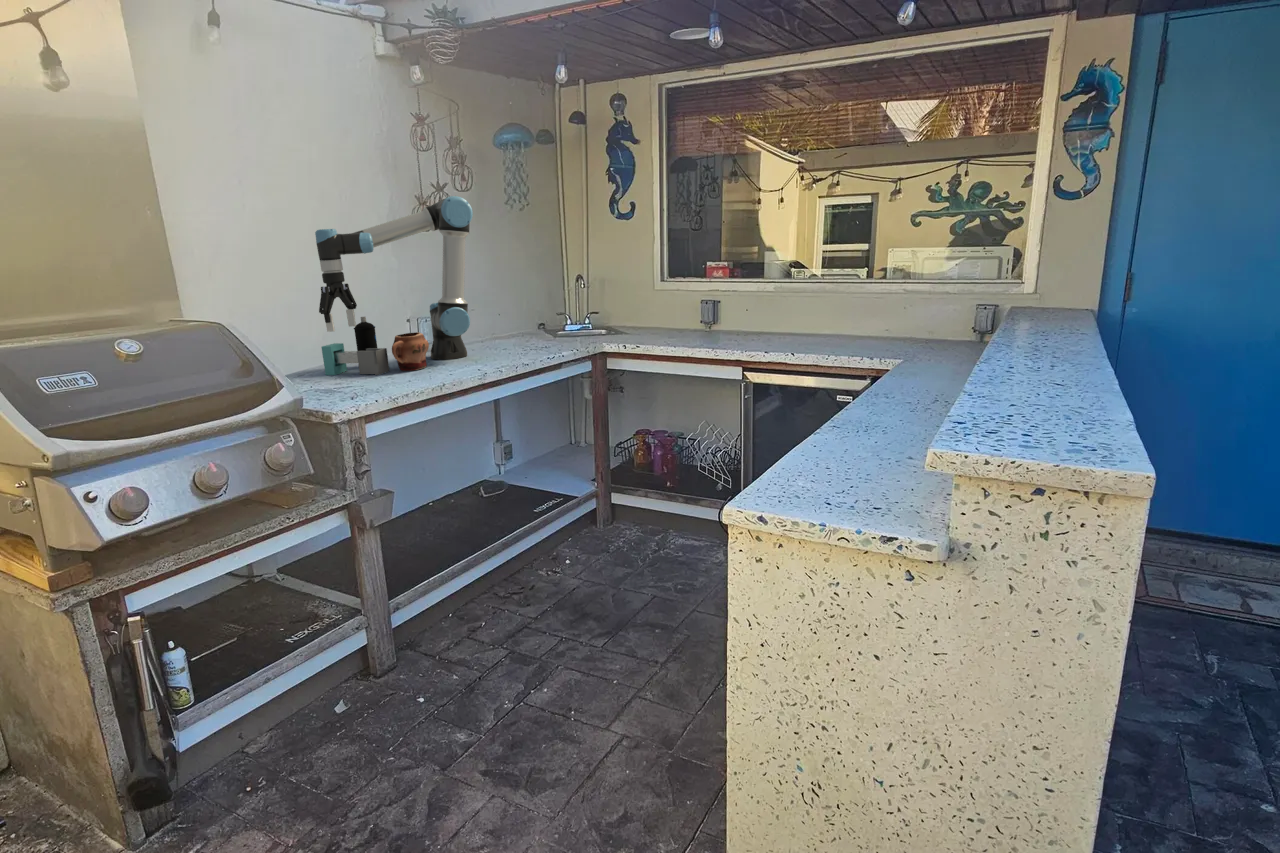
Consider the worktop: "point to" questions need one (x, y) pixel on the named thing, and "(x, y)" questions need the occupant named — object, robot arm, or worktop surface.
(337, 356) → the grey square peg
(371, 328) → the aerosol can
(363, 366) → the sleeve
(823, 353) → the worktop surface
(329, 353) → the socket block
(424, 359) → the decorative planter
